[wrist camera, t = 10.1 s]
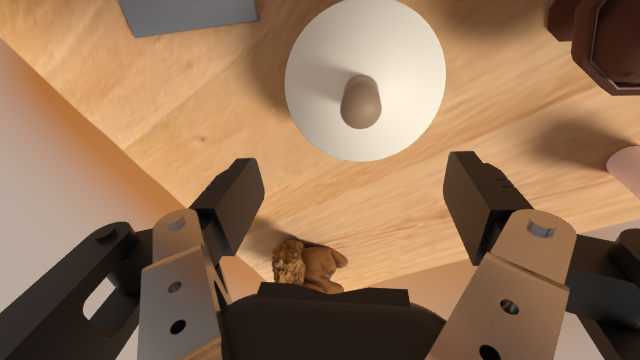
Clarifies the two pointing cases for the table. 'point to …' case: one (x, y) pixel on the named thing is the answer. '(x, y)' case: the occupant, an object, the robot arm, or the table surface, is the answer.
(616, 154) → the smoothie
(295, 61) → the lid
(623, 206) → the table surface
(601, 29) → the ice cream bowl
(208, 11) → the mat
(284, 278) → the stuffed squirrel
